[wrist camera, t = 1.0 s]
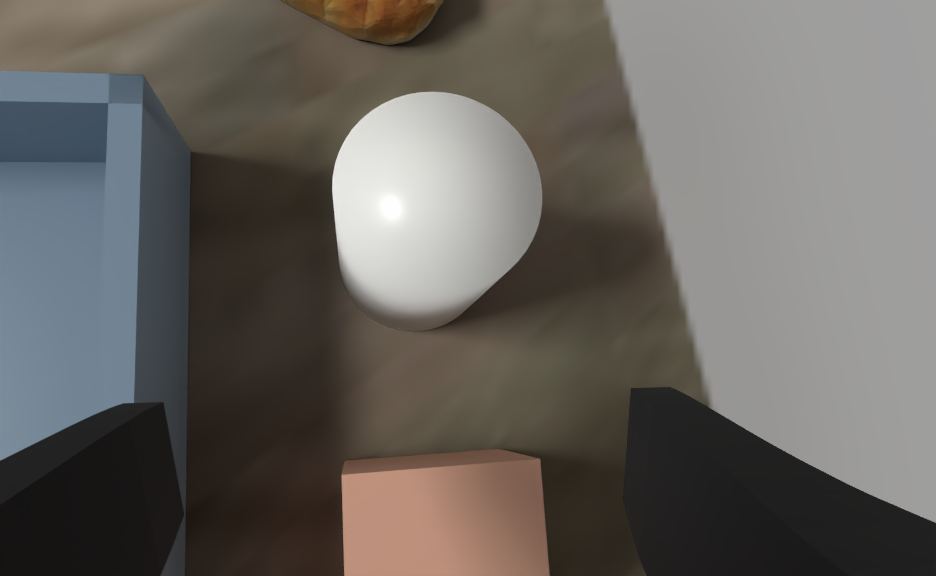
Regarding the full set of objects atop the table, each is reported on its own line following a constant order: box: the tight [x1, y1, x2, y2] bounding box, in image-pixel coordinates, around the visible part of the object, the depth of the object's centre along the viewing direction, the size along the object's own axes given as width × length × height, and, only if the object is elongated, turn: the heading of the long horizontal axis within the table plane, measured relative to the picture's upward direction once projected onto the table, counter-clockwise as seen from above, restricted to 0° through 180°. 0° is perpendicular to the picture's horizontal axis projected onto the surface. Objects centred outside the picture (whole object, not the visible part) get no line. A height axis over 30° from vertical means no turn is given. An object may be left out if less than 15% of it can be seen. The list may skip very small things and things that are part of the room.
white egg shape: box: [332, 92, 542, 331], centre depth 19 cm, size 5×5×7 cm
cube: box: [342, 449, 550, 576], centre depth 18 cm, size 5×5×5 cm
